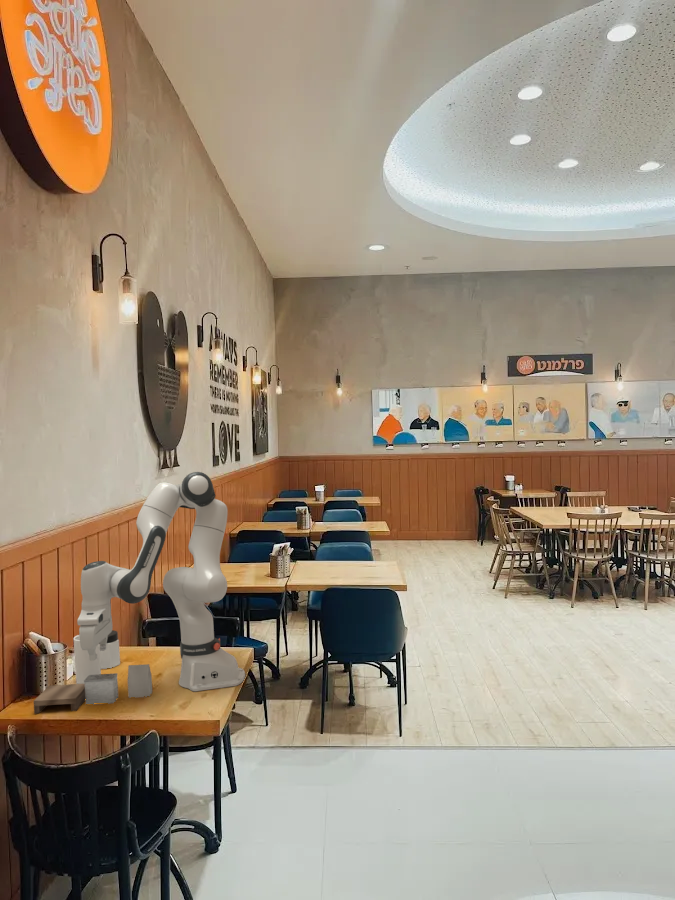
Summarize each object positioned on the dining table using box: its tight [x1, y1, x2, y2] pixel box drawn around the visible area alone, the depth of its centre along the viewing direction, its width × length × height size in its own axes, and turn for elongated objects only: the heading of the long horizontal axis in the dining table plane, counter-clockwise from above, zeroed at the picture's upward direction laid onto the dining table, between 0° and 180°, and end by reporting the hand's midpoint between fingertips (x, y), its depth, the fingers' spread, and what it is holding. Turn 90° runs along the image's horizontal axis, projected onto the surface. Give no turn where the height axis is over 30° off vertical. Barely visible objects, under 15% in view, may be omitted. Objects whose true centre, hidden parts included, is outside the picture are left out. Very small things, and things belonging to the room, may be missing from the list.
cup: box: [73, 634, 102, 684], centre depth 225 cm, size 8×8×16 cm
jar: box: [99, 629, 121, 670], centre depth 241 cm, size 9×8×12 cm
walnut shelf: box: [33, 683, 86, 714], centre depth 207 cm, size 13×12×4 cm
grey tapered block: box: [127, 664, 153, 699], centre depth 211 cm, size 4×7×10 cm, turn 90°
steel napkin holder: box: [84, 672, 119, 705], centre depth 208 cm, size 9×5×8 cm, turn 92°
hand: (98, 654), depth 207 cm, fingers open, 8 cm apart
